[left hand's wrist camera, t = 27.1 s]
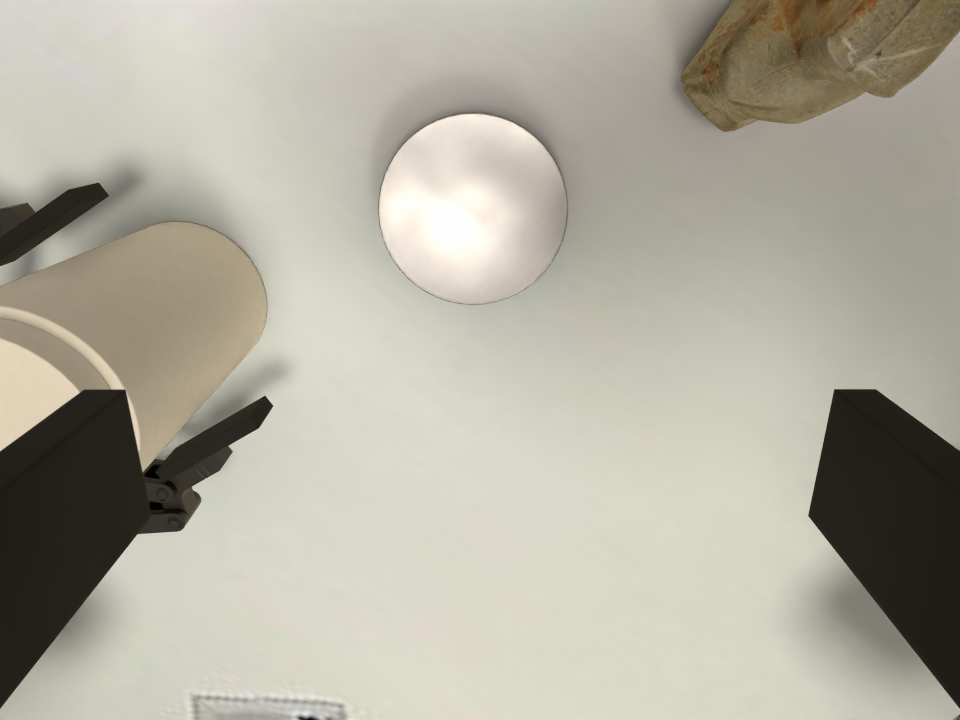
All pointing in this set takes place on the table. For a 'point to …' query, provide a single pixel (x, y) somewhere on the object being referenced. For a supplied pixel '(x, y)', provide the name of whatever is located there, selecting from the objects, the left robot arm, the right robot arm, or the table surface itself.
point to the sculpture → (813, 56)
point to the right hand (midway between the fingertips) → (182, 308)
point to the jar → (130, 329)
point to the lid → (473, 208)
